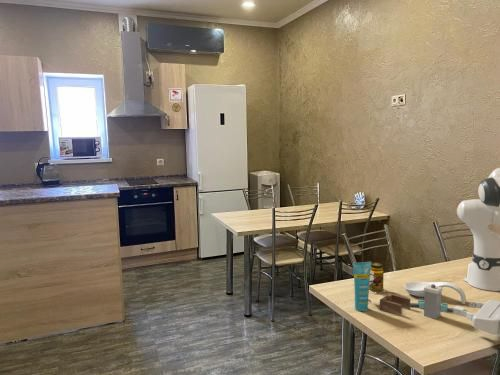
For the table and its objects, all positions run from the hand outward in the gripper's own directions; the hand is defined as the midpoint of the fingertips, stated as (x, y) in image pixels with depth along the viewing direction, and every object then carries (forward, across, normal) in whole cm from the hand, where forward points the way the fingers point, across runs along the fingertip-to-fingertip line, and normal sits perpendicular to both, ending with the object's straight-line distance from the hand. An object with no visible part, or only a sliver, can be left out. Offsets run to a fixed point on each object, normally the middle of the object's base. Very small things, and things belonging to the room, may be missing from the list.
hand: (465, 307), depth 133 cm
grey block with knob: (+11, 0, +6) cm, 13 cm away
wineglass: (+36, +5, +7) cm, 37 cm away
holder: (+23, +4, +6) cm, 24 cm away
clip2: (+17, -5, +6) cm, 19 cm away
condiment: (+39, -9, +7) cm, 41 cm away
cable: (+13, -5, +7) cm, 16 cm away
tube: (+33, +13, +7) cm, 36 cm away
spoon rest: (+17, -18, +7) cm, 26 cm away
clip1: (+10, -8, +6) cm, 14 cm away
